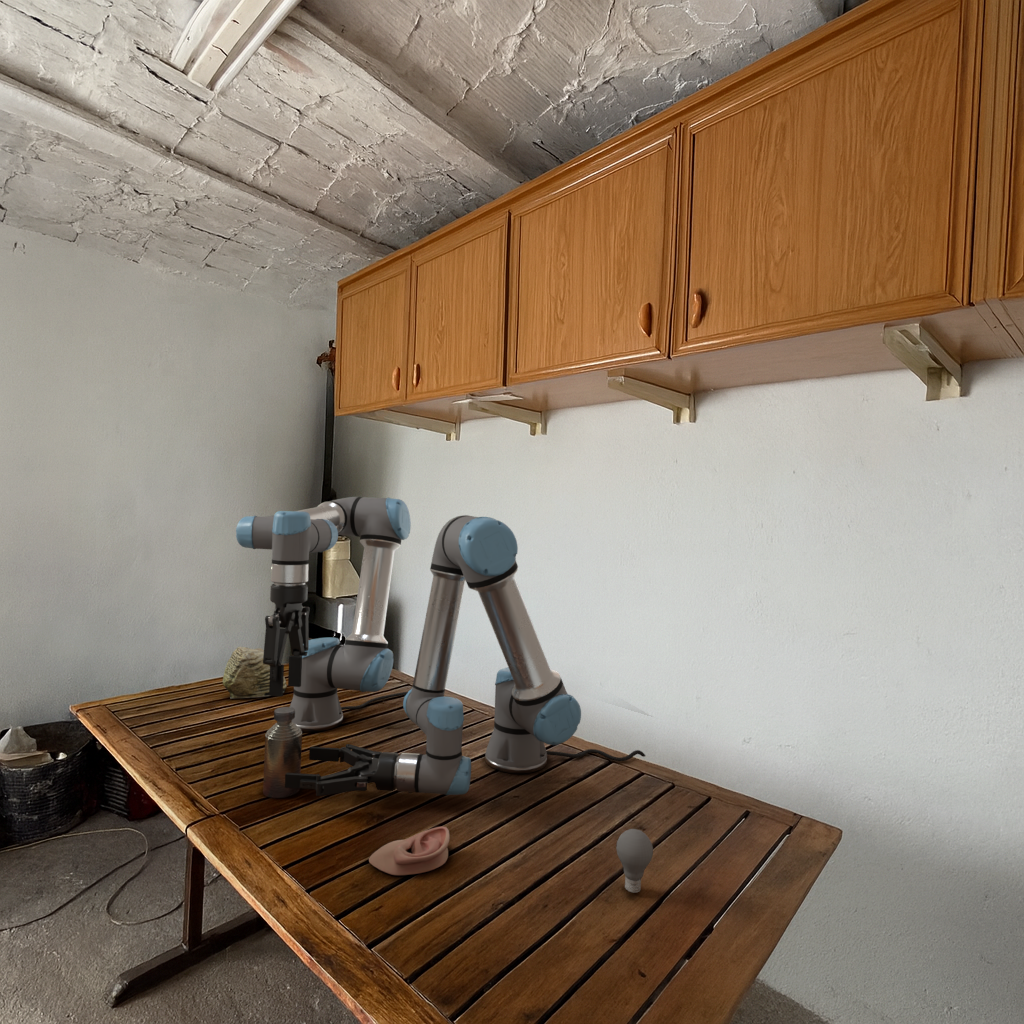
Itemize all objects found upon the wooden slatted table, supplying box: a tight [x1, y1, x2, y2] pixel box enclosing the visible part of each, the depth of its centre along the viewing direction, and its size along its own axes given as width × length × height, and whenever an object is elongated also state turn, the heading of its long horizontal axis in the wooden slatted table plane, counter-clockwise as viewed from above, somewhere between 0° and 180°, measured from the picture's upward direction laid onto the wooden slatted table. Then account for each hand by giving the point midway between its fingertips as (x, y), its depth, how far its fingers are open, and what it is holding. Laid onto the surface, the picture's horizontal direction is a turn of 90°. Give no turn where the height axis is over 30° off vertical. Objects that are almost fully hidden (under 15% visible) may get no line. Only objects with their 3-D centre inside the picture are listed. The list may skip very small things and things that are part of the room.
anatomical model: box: [368, 826, 451, 876], centre depth 112 cm, size 13×4×12 cm
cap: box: [273, 706, 295, 722], centre depth 136 cm, size 4×4×2 cm
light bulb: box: [615, 828, 654, 894], centre depth 106 cm, size 6×6×10 cm
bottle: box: [262, 720, 303, 799], centre depth 136 cm, size 7×7×17 cm
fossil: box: [222, 646, 288, 699], centre depth 198 cm, size 9×18×15 cm, turn 132°
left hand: (285, 690), depth 136 cm, fingers open, 6 cm apart
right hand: (298, 766), depth 134 cm, fingers open, 13 cm apart
